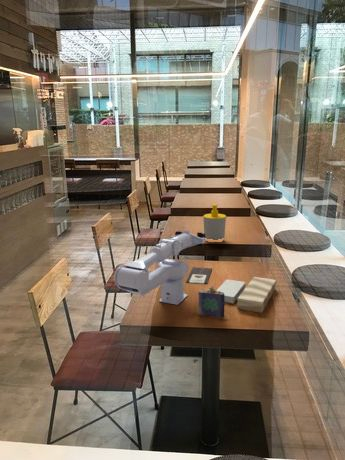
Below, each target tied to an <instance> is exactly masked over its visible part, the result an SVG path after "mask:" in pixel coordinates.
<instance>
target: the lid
mask: <svg viewBox="0 0 345 460" xmlns="http://www.w3.org/2000/svg"><path fill="white" fill-rule="evenodd" d="M245 288H246V281H239V280H233V279H226V280H224V282H223V283H222V284H221V285H220V286H219V287H218V288H217V289H215V291H218V292H219V291H220V292H223V293H224V299H225V300H224V303H230V304H235V302H236V301H238V297H239V296H240V294H241V293H242V292H243V290H244V289H245Z"/></svg>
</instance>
